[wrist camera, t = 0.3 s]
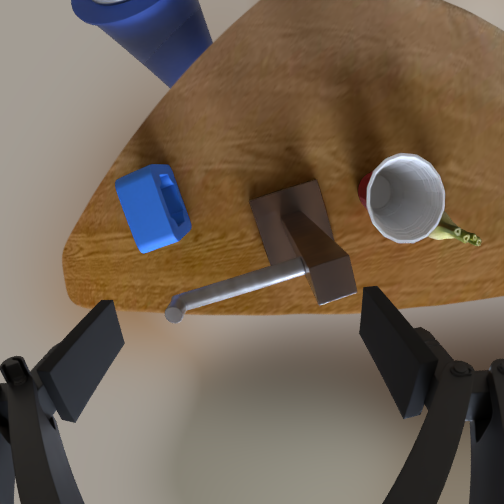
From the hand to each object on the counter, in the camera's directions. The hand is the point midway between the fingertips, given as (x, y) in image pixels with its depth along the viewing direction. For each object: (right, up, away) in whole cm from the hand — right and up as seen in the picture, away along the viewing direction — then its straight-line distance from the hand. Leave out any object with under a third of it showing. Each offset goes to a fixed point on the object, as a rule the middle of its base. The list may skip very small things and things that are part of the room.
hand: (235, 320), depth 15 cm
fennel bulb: (+30, +9, +30) cm, 43 cm away
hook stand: (+3, +7, +30) cm, 31 cm away
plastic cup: (+19, +13, +29) cm, 37 cm away
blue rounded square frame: (-12, +11, +29) cm, 33 cm away
